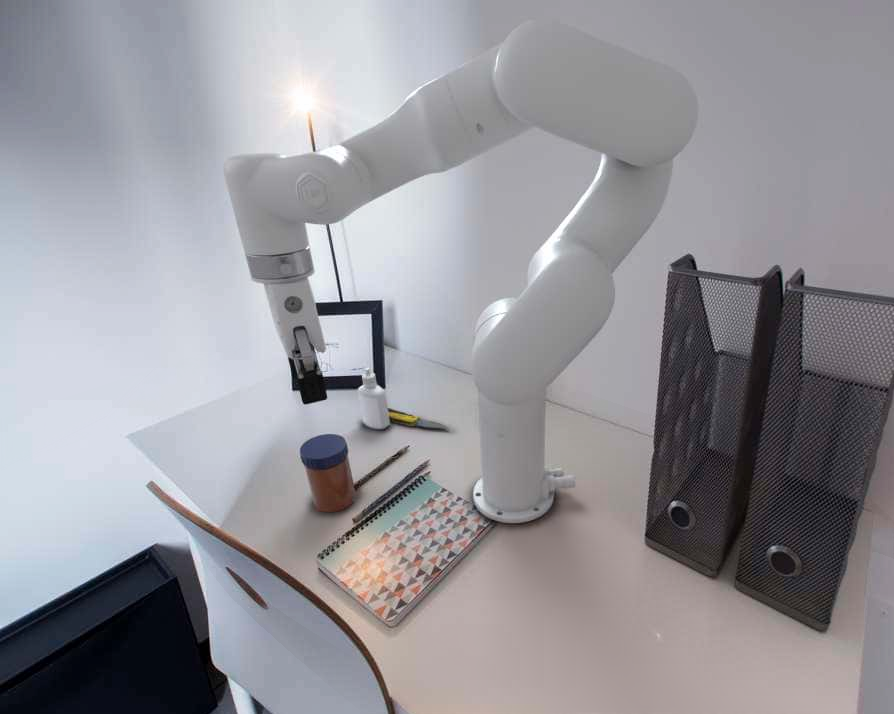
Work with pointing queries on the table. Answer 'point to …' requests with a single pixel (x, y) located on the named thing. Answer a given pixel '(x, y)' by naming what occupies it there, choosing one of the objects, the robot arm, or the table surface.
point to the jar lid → (324, 451)
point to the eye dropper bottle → (373, 402)
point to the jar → (332, 487)
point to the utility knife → (412, 420)
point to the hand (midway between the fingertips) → (309, 387)
